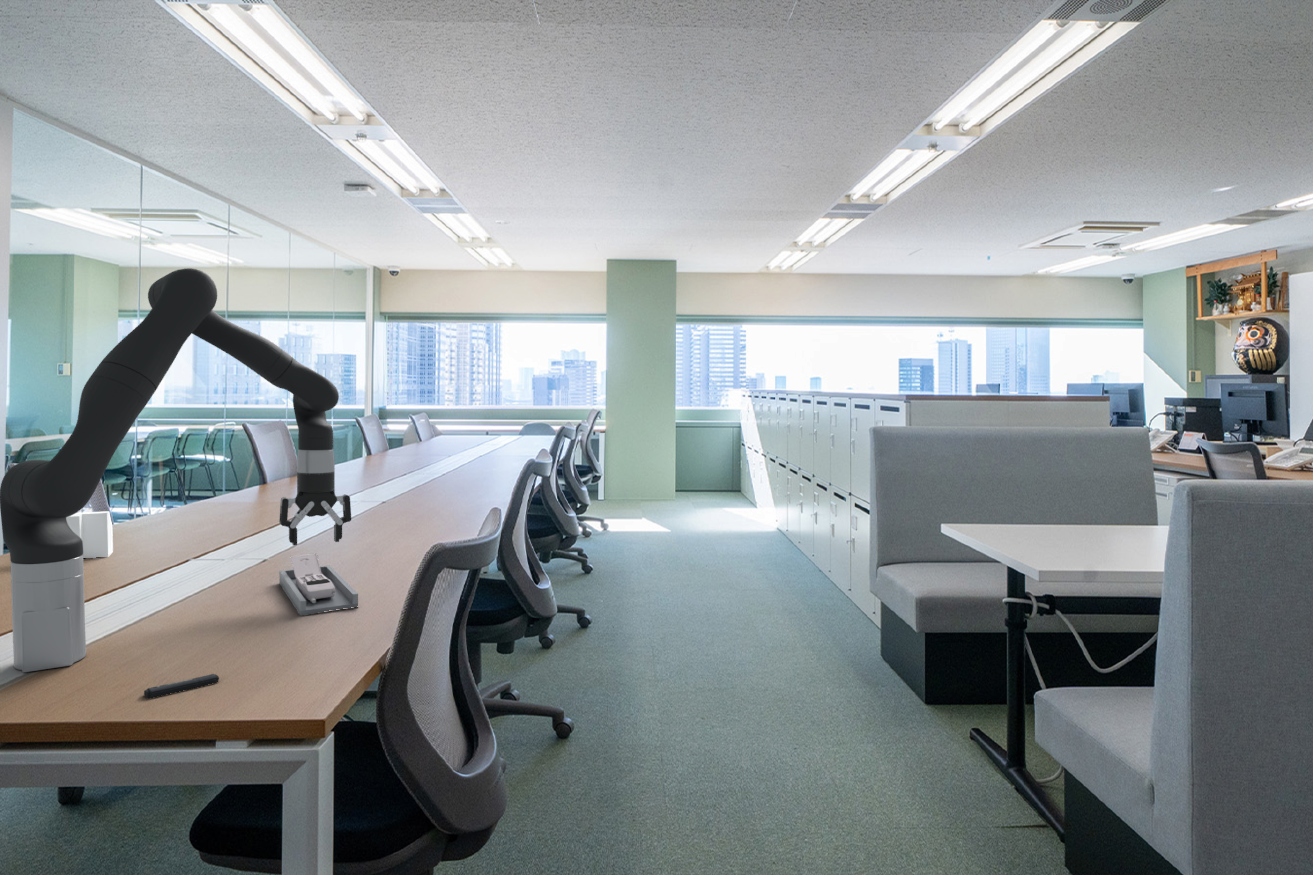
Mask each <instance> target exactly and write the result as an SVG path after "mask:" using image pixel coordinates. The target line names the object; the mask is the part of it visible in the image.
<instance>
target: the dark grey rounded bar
mask: <svg viewBox="0 0 1313 875" xmlns="http://www.w3.org/2000/svg"><path fill="white" fill-rule="evenodd" d="M219 680H220V677H219V676H218V674H215V673H212V674H206V675H202V676H198V677H194V678H189V679H185V680H179V681H175V682H170V683H165V684H161V685H156V686H152V687H148V688H146V689H145V690H143V692H144V693H143V695H144V697H145V699H147V698H148V699H150V698H151V699H154V698H153V697H155V698H158V697H157V696H160V697H162V696H161V695H164V696H167V695H166V694H168V695H171V694H170V693H173V694H176V693H175V692H177V693H180V692H179V691H181V692H184V691H183V690H186V691H189V689H190V690H194V689H198V688H197V687H199V688H202V687H201V686H203V687H206V686H205V685H207V686H209V685H208V684H212V683H216V684H217V682H218V683H219ZM212 685H213V684H212ZM193 688H194V689H193Z"/></svg>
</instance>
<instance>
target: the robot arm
mask: <svg viewBox="0 0 1313 875" xmlns="http://www.w3.org/2000/svg"><path fill="white" fill-rule="evenodd" d="M147 299H148V303H149V306H150V307H151V309H150V311H149V312H148V313H147V315H146V316H145V318H144V319H143V320H142V321H141V322H140V323H139V324H138V325H137V326H136V327H134V328H133V329H132V330H131V331H130V332H129V333H128V334H127V335H126V336H125V337H124V338H122V339H121V340H120V341H119V342H118V343H117V344H116V345H115V346H114V347H113V348H112V349H111V350H110V351H109V352H108V353H107V354H106V355H105V356H104V357H103V359H102V360H101V361H100V363H98V365H97V367H95V370H93V372H92V374H91V375H90V376H89V378H88V379H87V381H86V383H85V384H84V385H83V386H84V387H83V388H82V390H81V395H80V399H79V407H78V413H77V414H78V415H77V420H76V424H75V427H74V429H73V431H72V433H71V434H70V436H69V438H67V440H66V441H65V443H64V444H63V445H62V447H61V448H60V449H59V450H58V452H57V453H56V454H55V455H54V456H53V458H51V460H46V459H31V460H24V461H20V462H18V463H17V464H15V465H13V466H12V467H10V468H9V470H7V471H6V472H5V474H4V475H3V478H2V481H1V483H0V522H1V531H2V539H3V541H4V544H5V547H7V550H8V552H9V557H10V558H9V561H10V577H11V578H10V584H11V585H10V587H11V589H10V590H11V594H10V595H11V619H12V620H11V622H12V644H13V645H12V648H13V649H12V650H13V668H14V669H16V670H19V671H22V673H27V672H35V671H42V670H47V669H48V670H49V669H55V668H61V667H62V668H63V667H68V666H73V664H74V663H76V662H79V661H80V660H83V659H84V658H85V657H86V656H87V652H86V651H87V643H86V641H87V640H86V639H87V638H86V616H85V615H86V613H85V612H86V610H85V608H86V606H85V577H84V576H85V575H84V570H85V569H84V559H83V542H82V540H81V538H80V537H79V536H78V535H76V534H75V533H74V532H73V531H72V530H71V529H70V527H69V526H68V524H67V520H66V517H69V516H71V515H73V514H75V513H79V512H81V511H82V509H83V508H84V507H85V506H86V505H87V504H88V502H89V501H90V500H91V498H92V496H93V495H94V493H95V491H96V490H97V487H98V486H99V484H100V481H101V479H102V478H103V475H104V474H105V471H106V469H107V467H108V466H109V464H110V461H112V457H113V456H114V454H115V452H116V451H117V449H118V447H119V446H120V445H121V443H122V442H123V440H124V439H125V437H126V435H127V434H128V433H129V431H130V429H132V426H133V424H134V423H135V422H136V420H137V418H138V417H139V415H140V414H142V411H143V410H144V409H145V407H146V406H147V405H148V403H149V401H150V400H151V398H152V397H153V395H154V394H155V392H156V391H157V389H158V388H159V385H160V384H161V382H162V381H163V380H164V378H165V376H166V374H167V372H168V371H169V369H170V368H171V367H172V365H173V363H174V362H175V359H176V358H177V356H178V354H179V352H180V351H181V349H182V347H183V345H184V344H185V343H186V341H187V340H188V338H190V336H191V335H194V336H196V337H197V338H200V339H201V340H203V341H205V342H206V343H208V344H211V345H212V346H213V347H215V348H217V349H219V350H221V351H223V353H225V354H227V355H229V356H231V357H232V358H234V359H235V360H236V361H238V362H240V363H242V365H244V366H245V367H247V368H248V369H250V370H251V371H252V372H255V373H256V374H257V375H258V376H260V377H261V378H263V379H264V380H266V381H267V382H268V383H270V384H271V385H273V386H275V387H276V388H278V389H282V390H286V391H287V392H290V393H291V394H292V405H293V412H294V416H295V421H296V425H297V430H298V435H297V436H298V438H297V440H298V441H297V442H298V444H297V448H298V450H297V458H296V488H297V489H296V495H295V497H294V498H292V497H291V498H290V497H289V498H288V497H286V496H283V497H281V499H280V508H279V519H278V520H279V521H278V522H279V524H280V525H281V526H282V527H287V528H288V540H289V543H291V544H292V546H297V545H298V528H297V526H298V525H299V524H300V523H301V522H302V521H303V519H305V517H309V518H310V517H311V518H312V517H313V518H314V517H316V516H319V517H325V516H326V515H328V516H329V517H330V519H332V521H334V524H333V541H334V542H335V543H339V542H340V540H342V538H343V525H344V524H346V523H349V522H351V521H352V508H351V497H350V495H348V494H342V495H336V492H335V491H336V489H335V484H336V483H335V482H336V480H335V474H336V473H335V469H336V468H335V465H336V464H335V454H334V429H333V426H332V424H330V423H328V421H327V416H326V412H328V411H331V410H332V409H334V408H335V407H336V406H337V404H338V402H339V397H340V395H339V391H338V388H337V387H336V386H335V385H334V384H335V383H333V382H332V381H331V380H329V378H327V377H325V376H323V375H322V374H321V373H319V372H317V371H315V370H314V369H312V368H310V367H308V366H305V365H304V364H302V363H301V362H300V361H298V360H296V358H294V357H293V356H291V355H290V354H289V353H288V352H287V351H285V350H283V348H281V347H280V346H279V345H278V344H276V343H274V342H272V341H270V340H269V339H268V338H266V337H264V336H261V335H259V334H257V333H255V332H253V331H250V330H248V329H246V328H244V327H241V326H239V325H237V324H235V323H233V322H232V321H230V320H227V319H226V318H224V317H223V316H221V315H220V314H218V313H217V312H216V311H215V310H213V309H214V307H215V306H216V303H217V300H218V290H217V285H216V283H215V281H214V280H213V279H212V277H211V276H210V275H209V273H206V272H204V271H203V270H201V269H197V268H191V267H189V268H188V267H187V268H181V269H176V270H174V271H171V272H169V273H168V274H166V275H164V276H162V277H161V278H159V279H157V280H155V281H154V282H153V283H152V284H151V285H150V286H149V288H148V292H147ZM337 502H338V503H339V505H341V506H342V514H343V515H342V516H341V517H340V516H339V515H338V513H336V512H335V510H334V509H333V508H334V506H335V505H336V503H337ZM293 504H295V505H296V507H298V510H297V511H296V513H295V514H294V516H292V519H291V520H289V519H288V513H289V509H291V508H292V506H293Z"/></svg>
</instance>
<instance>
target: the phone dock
mask: <svg viewBox="0 0 1313 875" xmlns="http://www.w3.org/2000/svg"><path fill="white" fill-rule="evenodd" d="M320 569H321V573H322V574H323V575H324V576H325V577H326V578H328V579H329V580H330V581H331V582H332V583H333V585H334V587H335V596H334V597H327V598H320V599H316V603H312V602H310V600H308V599H306V598H305V596H304V595H303V594H302V593H301V591H300V590H299V588H298V586H297V584H296V576H295V573H294V569H293V568H292V569H282V570H279V571H278V573H279V576H278V577H279V581H278V582H279V585H280V587H282V588H281V589H282V590H283V591H284V593H285V594H286V596H287V597H288V598H289V601H290V602H291V603H292V605H293V606H294V608H295V610H296V609H297V610H296V611H297V613H298V612H299V613H298V614H299V616H300V617H302V615H304V616H309V615H308V614H311V615H314V614H313V613H318V612H324V611H329V610H336V609H343V608H351V607H357V606H358V607H359V593H358V592H357V591H356V590H355V589H354V588H353V587H352V586H351V585H350V584H349V583H348V582H347V581H346V580H345V579H344V578H343V577H342V576H341V574H339V573H338V572H337V571H336V570H335V569H334V568H333V567H332V566H331V564H329V565H320ZM318 614H319V613H318Z"/></svg>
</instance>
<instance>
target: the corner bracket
mask: <svg viewBox="0 0 1313 875" xmlns="http://www.w3.org/2000/svg"><path fill="white" fill-rule="evenodd" d="M66 520H67V524H68V526H69V527H70V529H71V530H72V531H73V532H74V533H75V534H76V535H78V536H79V537H80V538H81V540H82V542H83V558H93V559H97V558H96V557H107V558H109V557H110V556H111V555H112V554H113V552H114V538H113V537H114V536H113V534H114V533H113V532H114V531H113V530H114V529H113V522H112V518H111V513H110V510H109V511H108V510H107V511H106V510H104V511H87V512H77V513H75V514H73V515H71V516H69V517H66Z"/></svg>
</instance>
